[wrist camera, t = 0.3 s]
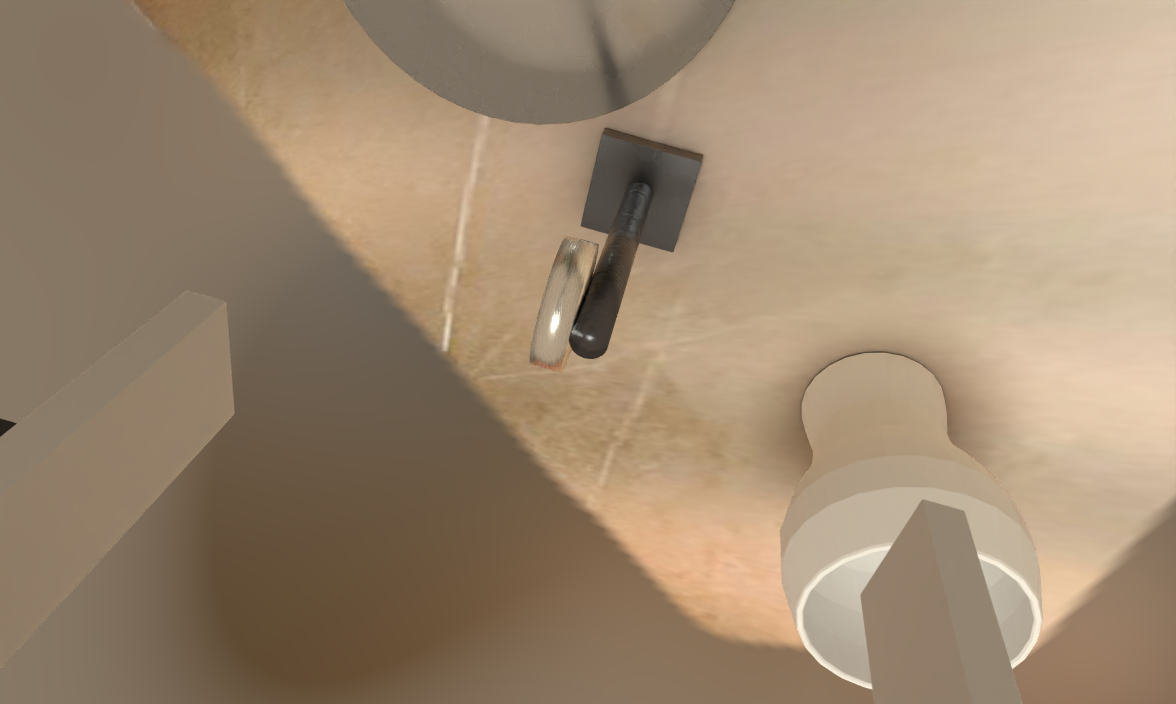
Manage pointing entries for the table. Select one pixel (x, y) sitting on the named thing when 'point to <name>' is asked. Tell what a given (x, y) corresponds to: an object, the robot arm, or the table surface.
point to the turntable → (540, 50)
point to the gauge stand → (611, 243)
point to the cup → (890, 507)
